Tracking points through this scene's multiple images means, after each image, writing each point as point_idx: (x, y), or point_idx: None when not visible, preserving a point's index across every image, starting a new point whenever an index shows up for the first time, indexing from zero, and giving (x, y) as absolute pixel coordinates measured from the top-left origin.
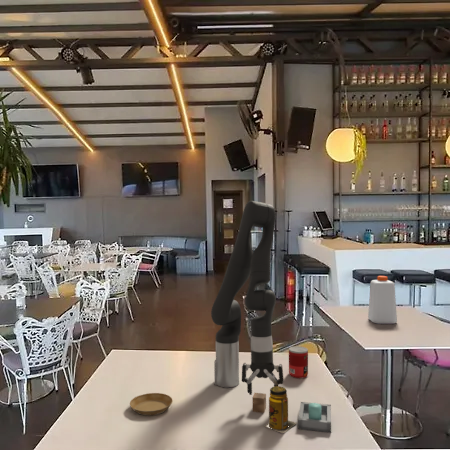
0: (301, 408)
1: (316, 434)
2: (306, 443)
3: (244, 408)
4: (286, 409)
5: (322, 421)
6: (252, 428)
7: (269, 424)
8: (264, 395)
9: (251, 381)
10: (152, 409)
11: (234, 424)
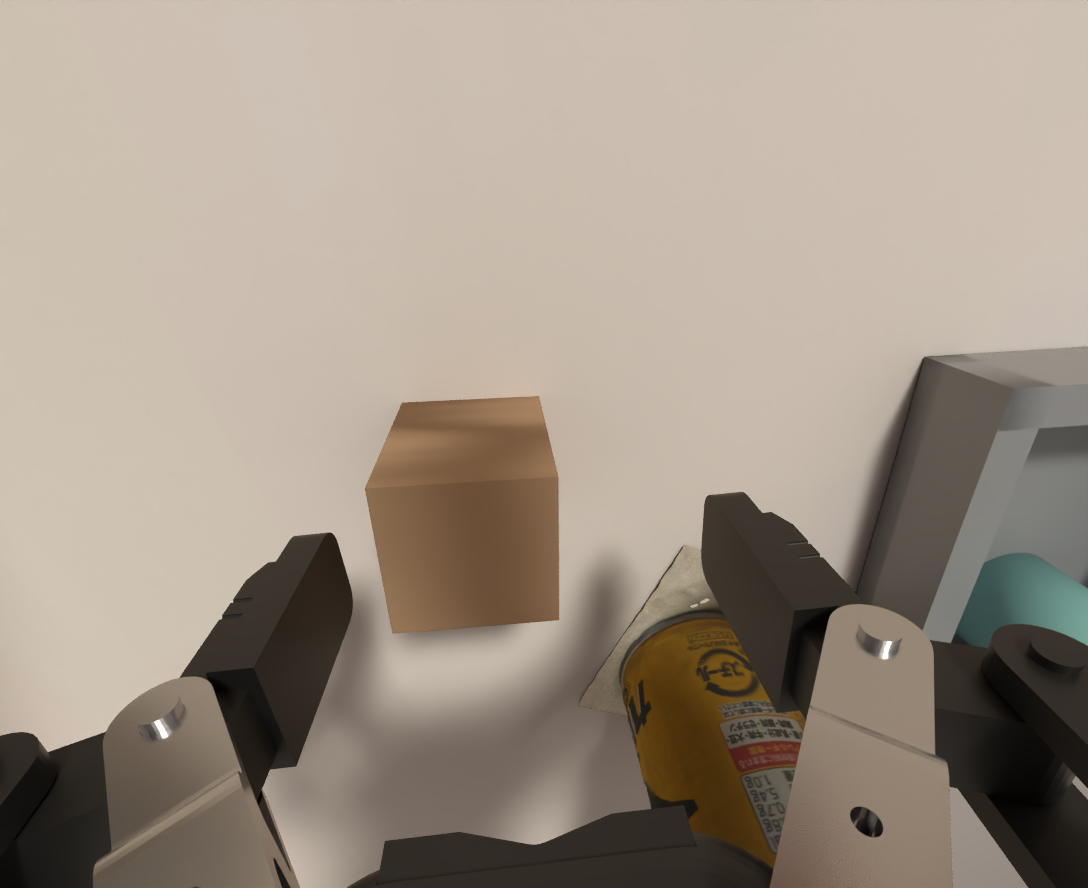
0: (969, 547)
1: None
2: None
3: (306, 476)
4: None
5: None
6: (501, 740)
7: (622, 683)
8: (547, 538)
9: (282, 847)
10: None
11: (347, 735)
